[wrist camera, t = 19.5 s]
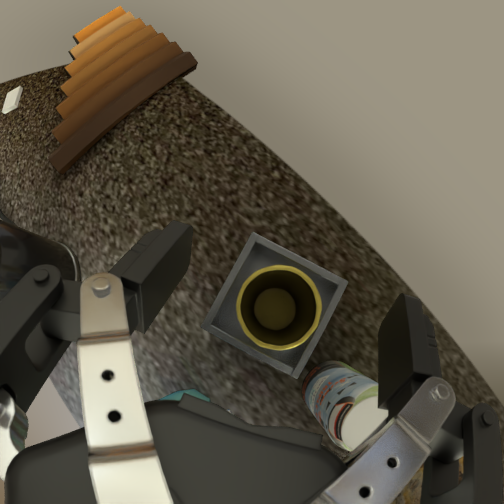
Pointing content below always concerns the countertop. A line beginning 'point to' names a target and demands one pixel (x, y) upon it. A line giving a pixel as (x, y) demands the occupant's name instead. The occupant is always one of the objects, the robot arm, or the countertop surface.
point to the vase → (278, 307)
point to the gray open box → (224, 307)
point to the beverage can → (343, 402)
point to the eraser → (12, 100)
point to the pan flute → (112, 80)
